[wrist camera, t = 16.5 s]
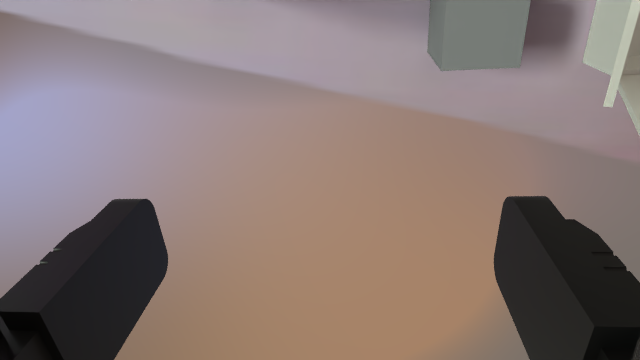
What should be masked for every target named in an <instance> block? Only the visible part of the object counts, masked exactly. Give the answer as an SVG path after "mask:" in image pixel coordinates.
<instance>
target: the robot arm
mask: <svg viewBox="0 0 640 360" xmlns="http://www.w3.org/2000/svg"><path fill="white" fill-rule="evenodd" d="M167 266H168V254H167V250H166V246H165V243H164V239H163V236H162V232H161V229H160V226H159V222H158V219H157V215H156V212H155V209H154V206H153V204H152V203H151V202H150V201H149V200H148V199H115V200H112V201H111V202H110V203H109V204H108V205H107V206H106V207H105V208H104V209H103V210H101V212H99V213H98V214H97V215H96V216H95V217H94V219H92V220H91V221H89V222H88V223H86V224H85V225H83V226H81V227H79V228H78V229H76V230H74V231H73V232H71V233H69V234H68V235H67V236H66V237H65V238H64V239H63V240H62V241H61V242H60V243H59V244H58V245H57V246H56V247H55V248H54V251H53V252H49V253H48V254H47V255H46V256H45V257H44V258H43V259H42V260H41V261H40V264H39V265H36V266H34V267H33V269H31V270H30V271H29V272H28V273H27V274H26V275H25V276H24V277H23V278H22V279H21V280H20V281H19V282H18V283H16V285H14V286H13V287H12V288H11V289H10V290H9V291H8V292H7V293H6V294H5V295H4V296H3V297H2V298H1V299H0V360H114V359H115V357H116V355H117V354H118V352H119V350H120V349H121V347H122V346H123V344H124V342H125V340H126V339H127V337H128V336H129V334H130V332H131V331H132V329H133V328H134V326H135V324H136V323H137V321H138V319H139V318H140V316H141V315H142V313H143V311H144V310H145V308H146V306H147V305H148V303H149V302H150V300H151V298H152V296H153V295H154V293H155V291H156V290H157V289H158V287H159V285H160V284H161V282H162V280H163V279H164V277H165V274H166V271H167ZM494 270H495V276H496V280H497V283H498V286H499V288H500V291H501V293H502V295H503V297H504V300H505V302H506V305H507V307H508V309H509V312H510V314H511V316H512V319H513V321H514V323H515V326H516V328H517V331H518V333H519V335H520V338H521V340H522V342H523V345H524V347H525V349H526V352H527V354H528V356H529V359H530V360H640V282H639V281H638V280H637V279H636V278H635V277H634V276H633V274H632V273H631V272H630V271H627V270H626V266H625V265H624V264H623V263H622V262H621V260H620V259H619V258H618V257H617V256H614V255H613V251H612V250H611V249H610V248H609V247H608V245H607V244H606V243H605V242H604V241H603V240H602V238H601V237H600V236H599V235H598V234H597V233H595V232H593V231H592V230H590V229H589V228H587V227H585V226H584V225H582V224H581V223H579V222H578V221H576V220H574V219H573V220H572V219H567V220H566V219H565V218H564V217H563V216H562V215H561V213H560V212H559V211H558V210H557V208H556V207H555V206H554V204H553V203H552V202H551V201H550V200H549V198H547V197H545V196H523V197H522V196H520V197H519V196H514V197H513V196H512V197H507V198H506V199H505V201H504V203H503V208H502V213H501V219H500V224H499V231H498V236H497V243H496V248H495V253H494Z"/></svg>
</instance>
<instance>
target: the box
mask: <svg viewBox="0 0 640 360" xmlns="http://www.w3.org/2000/svg"><path fill="white" fill-rule="evenodd" d="M530 2H531V0H430V14H429V32H428V49H427V52H428V53H429V55H430V56H431V58H432V59H433V60H434V62H435V63H436V65H437V66H438V67H439V69H440V70H441V71H449V70H473V69H497V68H520V63H521V57H522V51H523V45H524V39H525V33H526V26H527V20H528V14H529V8H530Z"/></svg>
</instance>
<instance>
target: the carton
mask: <svg viewBox="0 0 640 360" xmlns="http://www.w3.org/2000/svg"><path fill="white" fill-rule="evenodd" d="M583 63H585V64H587V65H589V66H591V67H593V68H596V69H598V70H600V71H602V72H604V73H606V74H609V75H611V80H610V83H609V87H608V91H607V94H606V98H605V102H604V105H603V106H605V107H613V103H614V100H615V96H616V93H617V89H618V90H619V92H620V95H621V97H622V99H623V101H624V103H625V105H626V108H627V110H628V112H629V114H630V116H631V118H632V121H633V123H634V125H635V127H636V129H637V131H638V134H639V136H640V0H597V2H596V6H595V11H594V15H593V19H592V23H591V28H590V32H589V36H588V40H587V45H586V49H585V53H584V58H583Z"/></svg>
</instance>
